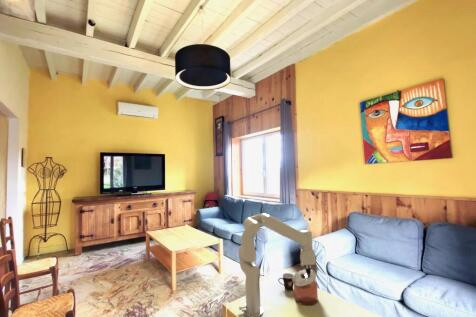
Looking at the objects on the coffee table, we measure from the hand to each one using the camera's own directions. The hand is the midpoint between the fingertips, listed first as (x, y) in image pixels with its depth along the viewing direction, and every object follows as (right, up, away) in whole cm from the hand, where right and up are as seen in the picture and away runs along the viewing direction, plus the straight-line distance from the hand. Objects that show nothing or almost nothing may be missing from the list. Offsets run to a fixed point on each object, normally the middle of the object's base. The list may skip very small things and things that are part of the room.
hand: (308, 273), depth 171 cm
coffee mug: (-12, -19, +15) cm, 27 cm away
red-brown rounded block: (-2, -18, -1) cm, 18 cm away
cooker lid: (-3, -3, -1) cm, 5 cm away
